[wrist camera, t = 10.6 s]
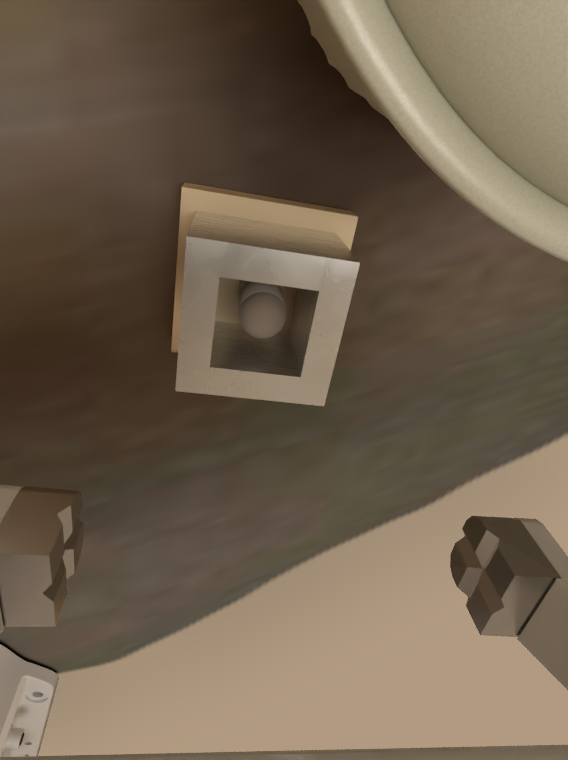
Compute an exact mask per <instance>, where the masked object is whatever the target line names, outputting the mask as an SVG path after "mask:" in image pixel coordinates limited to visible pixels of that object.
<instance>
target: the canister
mask: <svg viewBox="0 0 568 760" xmlns="http://www.w3.org/2000/svg"><path fill="white" fill-rule="evenodd" d="M297 2H298V3H299V4H300V5H301V7H302V8H303V10H304V12H305V14H306V17H307V19H308V22H309V25H310V31H311V35H312V36H313V37H315V38H316V40H317V41H318V42H319V44H320V45H321V47H322V49H323V50H324V52H325V54H326V56H327V60H328V63H329V64H330V65H331V66H333V67H335V68H336V69H337V70H338V71H339V72H340V73H341V75H342V76H343V77H344V79H345V81H346V83H347V85H348V87H349V88H350V89H351V90H353V91H354V92H356V93H357V94H359V95H360V96H362V97H364V98H365V99H366V100H367V101H368V103H369V104H370V105H371V107H372V108H374V109H375V110H376V111H378V112H379V113H380V114H382V115H383V116H385V117H386V118H387V119H389V121H390V122H391V123H392V125H393V126H394V127H395V128H396V130H397V131H398V132H399V133H400V135H401V136H402V137H403V138H404V140H405V141H406V142H407V143H408V144H409V145H410V147H411V148H412V149H413V150H414V151H415V152H416V154H417V155H418V156H419V157H420V158H421V159H422V160H423V161H424V162H425V163H426V164H427V165H428V166H429V167H430V169H431V170H432V171H433V172H434V173H435V174H436V175H437V176H438V177H439V178H440V179H442V180H443V181H444V182H445V183H446V184H447V185H448V186H449V187H450V188H451V189H452V190H453V191H454V192H456V193H457V194H458V195H459V196H460V197H461V198H462V199H464V200H465V201H466V202H467V203H468V204H470V205H471V206H472V207H474V208H475V209H476V210H477V211H479V212H480V213H481V214H482V215H484V216H485V217H487V218H488V219H489V220H491V221H492V222H494V223H495V224H496V225H498V226H500V227H501V228H503V229H504V230H506V231H507V232H509V233H510V234H512V235H514V236H515V237H517V238H519V239H521V240H522V241H524V242H526V243H528V244H529V245H531V246H533V247H535V248H537V249H539V250H541V251H543V252H545V253H547V254H550V255H552V256H554V257H556V258H559V259H561V260H563V261H566V262H568V0H297Z"/></svg>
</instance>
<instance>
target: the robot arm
mask: <svg viewBox="0 0 568 760" xmlns="http://www.w3.org/2000/svg"><path fill="white" fill-rule="evenodd" d="M81 508H82V495H81V493H80V492H79V491H73V490H62V489H50V488H39V487H27V486H25V487H19V486H9V485H0V633H1V632H2V631H4V627H56V624H57V621H58V618H59V615H60V613H61V610H62V607H63V604H64V601H65V599H66V596H67V579H68V578H69V577H70V576H71V575H73V574H74V573H75V570H76V567H77V564H78V561H79V557H80V552H81V548H82V541H83V523H82V522H81V521H80V520H79V519H78V516H79V514H80V511H81ZM463 531H464V534H465V537H464V538H462V539H461V540H459V541H458V542H456V543H455V546H454V548H453V550H452V552H451V563H450V567H451V572H452V576H453V579H454V581H455V583H456V585H457V587H458V588H459V589H460V590H461V591H462V592H464V593H465V594H466V595H467V596H468V601H467V604H466V606H467V608H468V611H469V613H470V615H471V617H472V619H473V621H474V623H475V625H476V627H477V629H478V631H479V633H480V635H492V636H510V637H518V640H519V641H520V642H521V643H522V644H523V645H524V646H525V647H526V648H527V649H528V650H529V651H530V652H531V653H532V654H533V655H534V656H535V657H536V658H537V659H538V660H539V661H540V662H541V663H542V664H543V665H544V666H545V667H546V668H547V669H548V671H549V672H550V673H551V674H552V675H553V676H555V677H556V679H557V680H558V681H559V682H561V684H562V685H563V686H564V687H565V688H567V690H568V557H567V555H566V554H565V552H564V551H563V550H562V548H561V547H560V546H559V544H558V543H557V542H556V541H555V539H554V538H553V537H552V535H551V534H550V533H549V531H548V530H547V529H546V527H545V526H544V525H543V524H542V523H541V522H539V521H538V520H536V519H524V518H513V519H512V518H501V517H481V516H471V517H470V518H469V519H468V520H466V522H465V525H464V526H463ZM58 680H59V677H58V675H57V674H56V673H55V672H53V671H51V670H49V669H47V668H44V667H41V666H39V665H36V664H33V663H30V662H27V661H25V660H23V659H21V658H20V657H18V656H17V655H15V654H14V653H13V652H11V651H10V650H9V649H7V648H6V647H4V646H2V645H1V644H0V760H568V745H536V746H535V745H534V746H489V747H443V748H399V749H398V748H395V749H352V750H351V749H347V750H304V751H303V750H301V751H256V752H215V753H214V752H213V753H167V754H128V755H127V754H126V755H125V754H124V755H78V756H38V753H39V750H40V746H41V743H42V739H43V735H44V731H45V728H46V724H47V721H48V717H49V713H50V709H51V706H52V702H53V698H54V694H55V691H56V687H57V683H58Z"/></svg>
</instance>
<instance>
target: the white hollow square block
mask: <svg viewBox="0 0 568 760" xmlns="http://www.w3.org/2000/svg"><path fill="white" fill-rule="evenodd" d="M359 265H360V262H359V261H358V259H357V258H356V257H355V256H354V255H353V253H352V252H351V251H350V250H349V248H348V247H347V246H346V245H345V243H344V242H343V241H342V240H341V239H340V237H339V236H338V235H337V234H336V233H333V232H326V231H320V230H314V229H308V228H302V227H296V226H289V225H283V224H277V223H271V222H265V221H259V220H252V219H246V218H240V217H234V216H228V215H222V214H215V213H209V212H203V211H197V212H196V214H195V217H194V219H193V222H192V224H191V227H190V229H189V231H188V234H187V237H186V251H185V264H184V278H183V292H182V306H181V320H180V334H179V348H178V361H177V375H176V389H175V391H180V392H190V393H199V394H209V395H219V396H229V397H239V398H248V399H258V400H268V401H278V402H288V403H298V404H307V405H317V406H324V405H325V401H326V397H327V393H328V389H329V385H330V381H331V377H332V373H333V369H334V365H335V361H336V357H337V353H338V349H339V345H340V341H341V337H342V333H343V329H344V325H345V321H346V317H347V313H348V309H349V305H350V301H351V297H352V293H353V289H354V285H355V281H356V277H357V273H358V269H359ZM220 277H223V278H230V279H237V280H244V281H251V282H258V283H266V284H273V285H280V286H287V287H294V288H297V293H296V298H295V303H294V309H293V314H292V319H291V324H290V329H289V330H287V329H281V331H280V332H279V333H277V334H276V335H274V336H272V337H270V338H257V337H254V336H252V335H250V334H249V333H247V332H246V331H245V329H244V328H243V326H242V325H241V324H240V323H232V322H224V321H216V320H215V315H216V306H217V296H218V287H219V278H220Z"/></svg>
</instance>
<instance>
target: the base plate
mask: <svg viewBox="0 0 568 760" xmlns="http://www.w3.org/2000/svg"><path fill="white" fill-rule="evenodd" d="M197 211H203V212H209V213H215V214H222V215H228V216H234V217H240V218H246V219H252V220H259V221H265V222H271V223H277V224H283V225H289V226H296V227H302V228H308V229H314V230H320V231H326V232H333V233H336V234H337V235H338V236H339V237H340V239H341V240H342V241H343V242H344V243H345V245H346V246H347V247H348V248H349V250H351V246H352V242H353V238H354V234H355V229H356V225H357V221H358V216H357V215H356V214H355V213H354V212H353V211H350V210H344V209H338V208H332V207H327V206H321V205H315V204H309V203H303V202H297V201H291V200H285V199H280V198H274V197H268V196H262V195H256V194H250V193H244V192H239V191H233V190H227V189H221V188H215V187H209V186H203V185H197V184H192V183H186V182H185V183H184V184H183V186H182V190H181V206H180V221H179V237H178V252H177V268H176V283H175V299H174V315H173V330H172V346H171V352H178V348H179V334H180V320H181V306H182V292H183V278H184V264H185V251H186V237H187V234H188V231H189V229H190V227H191V224H192V222H193V219H194V217H195V214H196V212H197ZM296 293H297V288H294V287H287V286H280V285H273V284H266V283H258V282H251V281H244V280H237V279H230V278H223V277H220V278H219V287H218V296H217V306H216V315H215V320H216V321H224V322H232V323H240V324H241V325H242V326H243V328H244V329H245V331H246V332H247V333H249V334H250V335H252V336H254V337H257V338H270V337H272V336H274V335H276V334H277V333H279V332H280V331H281V329H287V330H289V329H290V324H291V319H292V314H293V309H294V303H295V298H296Z"/></svg>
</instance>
